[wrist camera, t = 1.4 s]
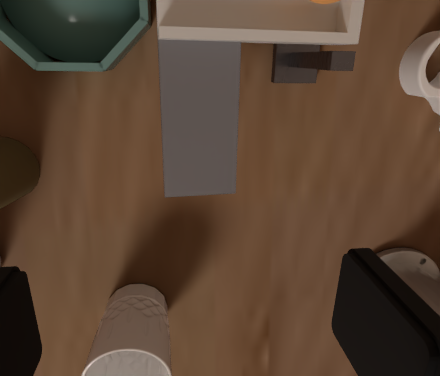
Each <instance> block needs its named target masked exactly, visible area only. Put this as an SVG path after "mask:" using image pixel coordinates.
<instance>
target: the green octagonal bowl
mask: <svg viewBox="0 0 440 376" xmlns="http://www.w3.org/2000/svg"><path fill="white" fill-rule="evenodd" d="M6 15H7V17H8V18H9V20H10V21H11V22H10V21H9V20H8V19H7V18H6ZM150 25H151V4H150V0H0V40H1V41H2V42H3V43H4V44H5V45H6V46H7V47H9V48H10V49H11V50H12V51H13V52H14V53H16V54H17V55H18V56H19V57H20V58H21V59H22V60H24V61H25V62H26V63H27V64H28V65H29V66H30V67H32V68H33V69H34V70H36V71H108V70H112V69H114V67H115V66H116V65H117V64H118V63H119V62H120V61H121V60H122V59H123V57H124V56H125V55H126V54H127V53H128V52H129V51H130V50H131V49H132V47H133V46H134V45H135V44H136V43H137V42H138V41H139V40H140V39H141V37H142V36H143V35H144V34H145V33H146V32H147V31H148V30H149V29H150V27H151V26H150ZM48 55H49V56H51V57H53V58H56V59H59V60H62V61H66V62H55V61H53V60H52V59H51V58H50V57H49V56H48ZM101 60H102V61H101ZM97 61H101V62H97Z"/></svg>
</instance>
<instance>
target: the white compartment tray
mask: <svg viewBox="0 0 440 376" xmlns="http://www.w3.org/2000/svg"><path fill="white" fill-rule="evenodd" d="M439 44H440V30H439V31H433V32H428V33H426V34H423V35H422V36H420V37H418V38H417V39H416V40H415V41H413V42H412V43H411V45H410V46H409V47H408V48H407V50H406V52H405V53H404V55H403V58H402V60H401V64H400V69H399V78H400V83H401V86H402V88H403V89H404V91H405V92H406V93H407V94H408V95H414V96H420V97H424V98H426V99H427V100H428V101H429V103H430V104H431V106H432V109H433V111H434V112H436V113H437V114H439V115H440V72H439V73H438V74H437V76H436V77H435V78H434V79H433V80H432V81H431V82H428V80H427V78H426V65H427V62H428V59H429V58H430V56H431V54H432V53H433V52H434V50H435V49H436V47H437V46H438V45H439ZM439 131H440V128H439Z"/></svg>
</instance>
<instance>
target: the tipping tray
mask: <svg viewBox="0 0 440 376" xmlns="http://www.w3.org/2000/svg"><path fill="white" fill-rule="evenodd" d="M364 1H365V0H340V1H337V2H335V3H330V4H318V3H314V2H312V1H310V0H156V10H157V33H158V57H159V80H160V104H161V127H162V151H163V175H164V194H165V197H180V196H197V195H215V194H232V193H236V166H237V138H238V111H239V84H240V57H241V42H244V43H279V44H314V45H348V44H358V41H359V34H360V28H361V21H362V14H363V7H364Z"/></svg>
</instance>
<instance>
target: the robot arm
mask: <svg viewBox="0 0 440 376" xmlns="http://www.w3.org/2000/svg"><path fill="white" fill-rule="evenodd" d="M332 330H333V333H334V335H335V337H336V339H337V340H338V342H339V344H340V346H341V347H342V349H343V351H344V352H345V354H346V356H347V358H348V359H349V361H350V363H351V365H352V366H353V368H354V370H355V371H356V373H357V375H358V376H440V271H439V268H438V267H437V265H436V264H435V262H434V261H433V260H432V259H430V258H429V257H428V256H427V255H425V254H424V253H422V252H421V251H418V250H415V249H412V248H404V247H403V248H392V249H388V250H384V251H382V252H379V253H377V254H375V253H374V252H373V251H372V250H371V249H370V248H358V249H350V250H349V251H348V253H347V254H344V256H343V258H342V264H341V270H340V276H339V282H338V288H337V294H336V299H335V305H334V311H333V317H332ZM41 354H42V344H41V339H40V334H39V330H38V325H37V320H36V315H35V311H34V306H33V301H32V297H31V292H30V287H29V282H28V278H27V274H26V272H24V271H20V269H19V268H18V267H16V266H13V267H0V376H33V375H34V372H35V370H36V368H37V365H38V363H39V361H40V358H41Z"/></svg>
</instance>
